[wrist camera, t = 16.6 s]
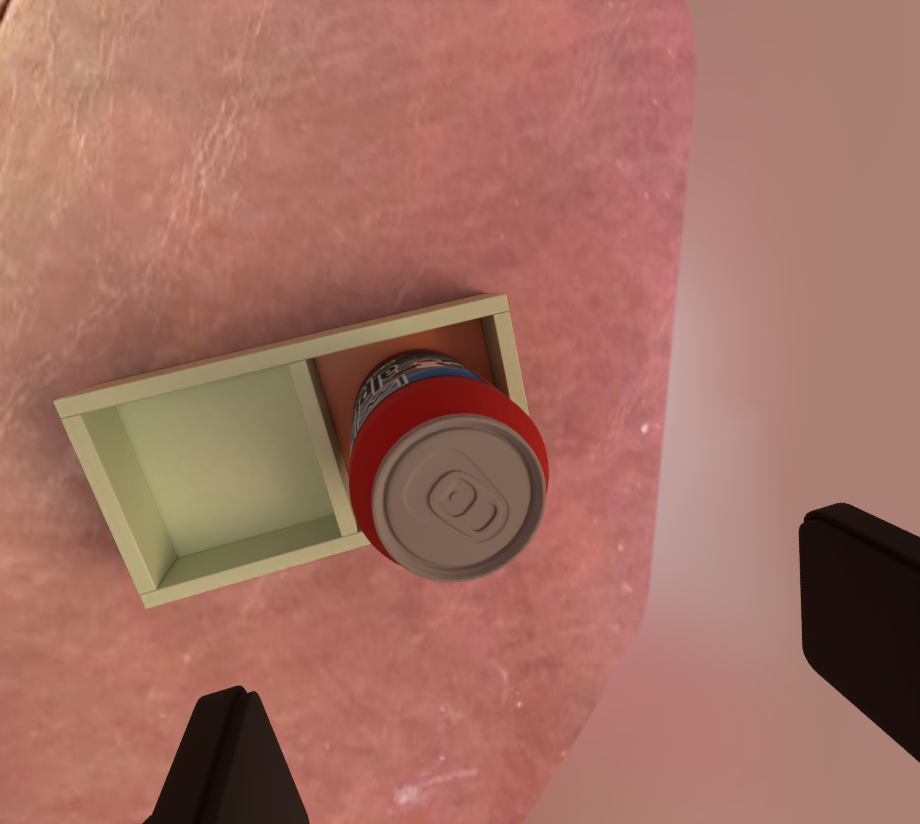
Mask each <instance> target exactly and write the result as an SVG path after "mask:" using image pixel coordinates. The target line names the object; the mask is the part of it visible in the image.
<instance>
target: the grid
mask: <svg viewBox="0 0 920 824" xmlns="http://www.w3.org/2000/svg"><path fill="white" fill-rule="evenodd" d="M508 310H509V307H508V302H507V296H506V294H500V293H484V294H479V295H475V296H471V297H467V298H462V299H458V300H454V301H450V302H445V303H441V304H437V305H433V306H428V307H424V308H420V309H416V310H411V311H407V312H403V313H399V314H394V315H390V316H386V317H381V318H377V319H373V320H369V321H364V322H360V323H356V324H352V325H347V326H343V327H339V328H335V329H330V330H326V331H322V332H318V333H313V334H309V335H305V336H301V337H296V338H292V339H288V340H284V341H279V342H275V343H271V344H266V345H262V346H258V347H254V348H249V349H245V350H241V351H237V352H232V353H228V354H224V355H220V356H215V357H211V358H207V359H203V360H198V361H194V362H190V363H186V364H181V365H177V366H173V367H169V368H164V369H160V370H156V371H151V372H147V373H143V374H139V375H134V376H130V377H126V378H122V379H117V380H113V381H109V382H105V383H100V384H96V385H93V386H90V387H88V388H85V389H82V390H80V391H77V392H74V393H72V394H69V395H66V396H64V397H61V398H58V399H55V400H54V401H53V403H54V406H55V408H56V410H57V412H58V415H59V417H60V418H62V419H61V422H62V424H63V426H64V428H65V431H66V433H67V435H68V437H69V440H70V442H71V444H72V446H73V449H74V451H75V453H76V455H77V458H78V460H79V462H80V464H81V466H82V469H83V471H84V473H85V475H86V478H87V480H88V482H89V484H90V487H91V489H92V491H93V493H94V496H95V498H96V500H97V502H98V505H99V507H100V509H101V511H102V513H103V516H104V518H105V520H106V522H107V525H108V527H109V529H110V531H111V534H112V536H113V538H114V540H115V543H116V545H117V547H118V549H119V552H120V554H121V556H122V558H123V561H124V563H125V565H126V567H127V569H128V572H129V574H130V576H131V578H132V581H133V583H134V585H135V587H136V590H137V592H138V594H140V598H141V600H142V603H143V605H144V607H145V609H147V608H151V607H154V606H158V605H161V604H165V603H168V602H171V601H175V600H178V599H182V598H185V597H189V596H192V595H196V594H199V593H203V592H206V591H209V590H213V589H216V588H220V587H223V586H227V585H230V584H234V583H237V582H241V581H244V580H248V579H251V578H254V577H258V576H261V575H265V574H268V573H272V572H275V571H279V570H282V569H286V568H289V567H293V566H296V565H299V564H303V563H306V562H310V561H313V560H317V559H320V558H324V557H327V556H331V555H334V554H338V553H341V552H344V551H348V550H351V549H355V548H358V547H362V546H365V545H369V544H371V543H370V541H369V540H368V539H367V538H366V536H365V535H364V533H363V532H362V530H361V529H360V527H359V525H358V523H357V521H356V518H355V515H354V513H353V509H352V506H351V501H350V493H349V468H350V444H351V430H352V419H353V410H354V403H355V399H356V395H357V393H358V390H359V388H360V386H361V384H362V382H363V381H364V379H365V378H366V376H367V375H368V374H369V373H370V372H371V370H372V369H373V368H375V367H376V366H377V365H378V364H379V363H381V362H382V361H384V360H385V359H387V358H389V357H390V356H392V355H395V354H397V353H400V352H404V351H408V350H415V349H427V350H434V351H438V352H442V353H444V354H447V355H449V356H451V357H453V358H455V359H456V360H458V361H460V362H461V363H462V364H464V365H465V366H467V367H468V368H470V369H471V370H473V371H474V372H475V373H477V374H478V375H479V376H481V377H482V378H484V379H485V380H486V381H488V382H489V383H490V384H492V385H493V386H494V387H495V388H497V389H498V390H499V391H501V392H502V393H503V394H504V395H506V396H507V397H508V398H509V399H511V400H512V401H513V402H514V403H515V404H517V405H518V406H519V407H520V408H521V409H522V410H523V411H524V412H525V413H526V414H527V415H528V416H529V412H528V407H527V402H526V396H525V391H524V386H523V380H522V375H521V370H520V365H519V359H518V354H517V349H516V343H515V338H514V333H513V327H512V322H511V317H510V312H509V311H508Z"/></svg>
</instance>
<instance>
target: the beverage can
mask: <svg viewBox="0 0 920 824" xmlns="http://www.w3.org/2000/svg"><path fill="white" fill-rule="evenodd" d="M548 480H549V467H548V458H547V453H546V449H545V445H544V442H543V440H542V437H541V435H540V433H539V431H538V429H537V428H536V426H535V424H534V423H533V421H532V420H531V419H530V417H529V416H528V415H527V414H526V413H525V412H524V411H523V410H522V409H521V408H520V407H519V406H518V405H517V404H515V403H514V402H513V401H512V400H511V399H509V398H508V397H507V396H506V395H504V394H503V393H502V392H501V391H499V390H498V389H497V388H495V387H494V386H493V385H492V384H490V383H489V382H488V381H486V380H485V379H484V378H482V377H481V376H479V375H478V374H477V373H475V372H474V371H473V370H471V369H470V368H468V367H467V366H465V365H464V364H462V363H461V362H460V361H458V360H456V359H455V358H453V357H451V356H449V355H447V354H444V353H442V352H438V351H434V350H427V349H415V350H408V351H404V352H400V353H397V354H395V355H392V356H390V357H389V358H387V359H385V360H384V361H382V362H381V363H379V364H378V365H377V366H376V367H375V368H373V369H372V370H371V372H370V373H369V374H368V375H367V376H366V378H365V379H364V381H363V382H362V384H361V386H360V388H359V390H358V393H357V395H356V399H355V403H354V410H353V419H352V430H351V444H350V468H349V493H350V501H351V506H352V509H353V513H354V515H355V518H356V521H357V523H358V525H359V527H360V529H361V530H362V532H363V533H364V535H365V536H366V538H367V539H368V540H369V541H370V543H371V544H372V545H373V546H374V547H375V548H376V549H377V550H378V551H380V552H381V553H382V554H383V555H384V556H386V557H387V558H388V559H390V560H392V561H393V562H395V563H397V564H399V565H401V566H403V567H404V568H405V569H407V570H409V571H410V572H412V573H414V574H416V575H418V576H421V577H424V578H427V579H430V580H434V581H440V582H465V581H471V580H475V579H479V578H482V577H485V576H487V575H490V574H492V573H494V572H496V571H498V570H500V569H502V568H503V567H505V566H506V565H508V564H509V563H510V562H512V561H513V560H514V559H515V558H516V557H517V556H518V555H519V554H520V553H521V552H522V551H523V550H524V549H525V548H526V547H527V545H528V544H529V543H530V541H531V540H532V538H533V537H534V535H535V533H536V531H537V529H538V527H539V525H540V522H541V520H542V516H543V513H544V508H545V502H546V494H547V489H548Z"/></svg>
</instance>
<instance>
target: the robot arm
mask: <svg viewBox="0 0 920 824" xmlns="http://www.w3.org/2000/svg"><path fill="white" fill-rule="evenodd" d="M799 553H800V554H799V555H800V585H801V586H800V587H801V619H802V647H803V652H804V655H805V657H806V659H807V661H808V663H809V664H810V666H811V667H812V668H813V669H814V670H815V671H816V672H817V673H818V674H819V675H820V676H821V677H823V678H824V679H825V680H826V681H827V682H828V683H829V684H831V685H832V686H833V687H834V688H835V689H836V690H837V691H839V692H840V693H841V694H842V695H843V696H844V697H845V698H847V699H848V700H849V701H850V702H851V703H852V704H853V705H855V706H856V707H857V708H858V709H859V710H860V711H861V712H863V713H864V714H865V715H866V716H867V717H868V718H869V719H871V720H872V721H873V722H874V723H875V724H876V725H877V726H879V727H880V728H881V729H882V730H883V731H884V732H885V733H887V734H888V735H889V736H890V737H891V738H892V739H893V740H895V741H896V742H897V743H898V744H899V745H900V746H901V747H903V748H904V749H905V750H906V751H907V752H908V753H909V754H911V755H912V756H913V757H914V758H915V759H916V760H917V761H919V762H920V537H918V536H916V535H914V534H912V533H910V532H907V531H905V530H903V529H901V528H899V527H897V526H895V525H893V524H890V523H888V522H886V521H884V520H882V519H880V518H878V517H876V516H873V515H871V514H869V513H867V512H865V511H862V510H861V509H858V508H856V507H854V506H852V505H850V504H846V503H836V504H833V505H830V506H827V507H823V508H820V509H816V510H813V511H810V512H809V513H807V514H806V516H805V517H804V523H803V524H801V525H800V528H799ZM143 824H309V818H308V815H307V812H306V810H305V807H304V805H303V802H302V800H301V798H300V795H299V793H298V790H297V788H296V785H295V783H294V780H293V778H292V775H291V773H290V770H289V768H288V765H287V763H286V761H285V758H284V756H283V753H282V751H281V748H280V746H279V743H278V741H277V738H276V736H275V733H274V731H273V729H272V726H271V724H270V721H269V719H268V716H267V714H266V711H265V709H264V706H263V704H262V701H261V699H260V697H259V695H258V693H257V692H255V691H253V692H249V693H247V692H246V690H245V689H244V688H243V687H242V686H235V687H231V688H228V689H225V690H221V691H218V692H215V693H212V694H208V695H205V696H202V697H201V698H200V699H199V700H198V702H197V703H196V705H195V708H194V710H193V713H192V715H191V718H190V720H189V723H188V725H187V728H186V730H185V733H184V735H183V738H182V740H181V743H180V745H179V748H178V751H177V753H176V756H175V758H174V761H173V763H172V766H171V768H170V771H169V773H168V776H167V778H166V781H165V783H164V786H163V788H162V791H161V793H160V796H159V798H158V801H157V803H156V806H155V808H154V811H153V813H152V815H151V816H149V817H148V818H147V819H146V820H145V821H144V823H143Z"/></svg>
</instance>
